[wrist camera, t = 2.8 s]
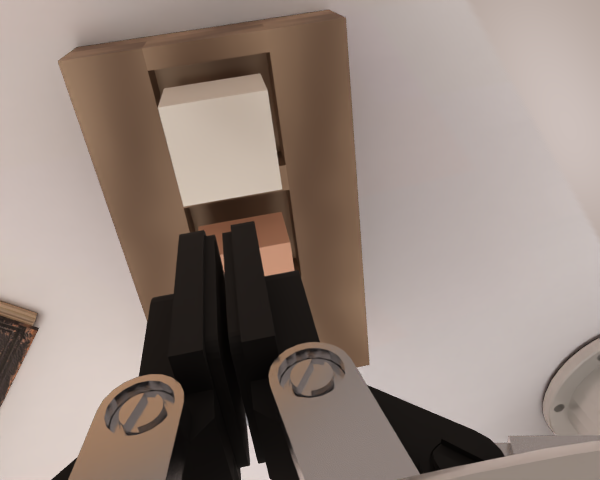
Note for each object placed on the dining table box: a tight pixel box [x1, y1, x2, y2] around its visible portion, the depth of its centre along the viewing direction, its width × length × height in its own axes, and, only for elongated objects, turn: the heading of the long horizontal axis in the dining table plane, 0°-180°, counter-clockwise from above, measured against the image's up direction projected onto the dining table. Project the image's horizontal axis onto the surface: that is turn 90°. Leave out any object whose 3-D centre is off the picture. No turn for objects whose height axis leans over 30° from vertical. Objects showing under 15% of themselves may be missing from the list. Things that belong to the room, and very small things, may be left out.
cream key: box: [158, 73, 282, 206], centre depth 21 cm, size 4×4×3 cm
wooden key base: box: [58, 10, 369, 367], centre depth 28 cm, size 12×20×4 cm, turn 7°
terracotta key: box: [198, 212, 294, 276], centre depth 24 cm, size 4×4×3 cm
